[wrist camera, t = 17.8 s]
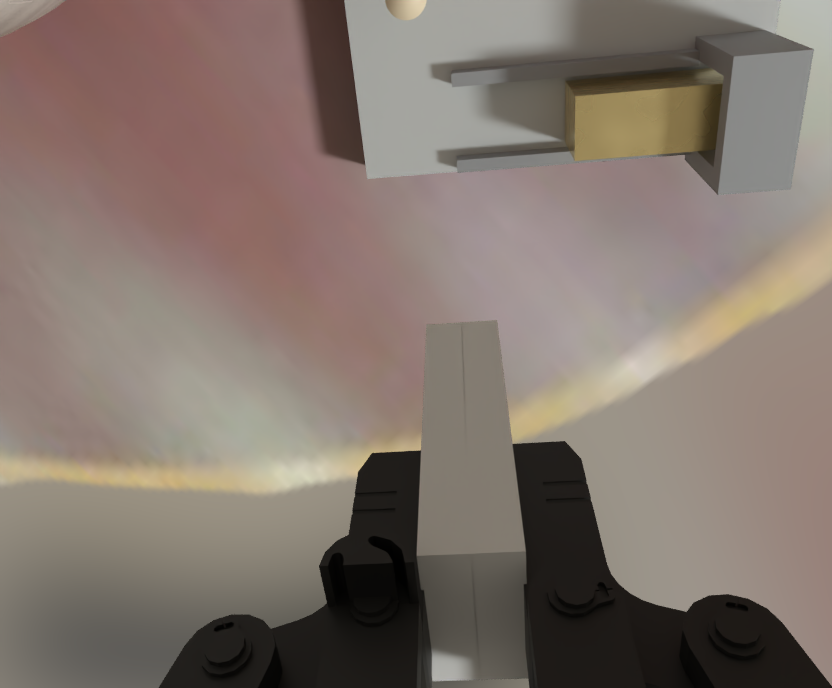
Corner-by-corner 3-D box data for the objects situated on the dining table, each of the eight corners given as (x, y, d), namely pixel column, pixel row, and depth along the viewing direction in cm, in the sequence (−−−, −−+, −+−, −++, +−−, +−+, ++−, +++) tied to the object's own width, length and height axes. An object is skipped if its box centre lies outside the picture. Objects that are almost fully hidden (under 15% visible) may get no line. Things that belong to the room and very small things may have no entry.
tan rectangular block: (564, 141, 36) (574, 161, 33) (565, 80, 35) (575, 96, 32) (714, 128, 35) (736, 148, 33) (720, 67, 34) (745, 81, 31)
